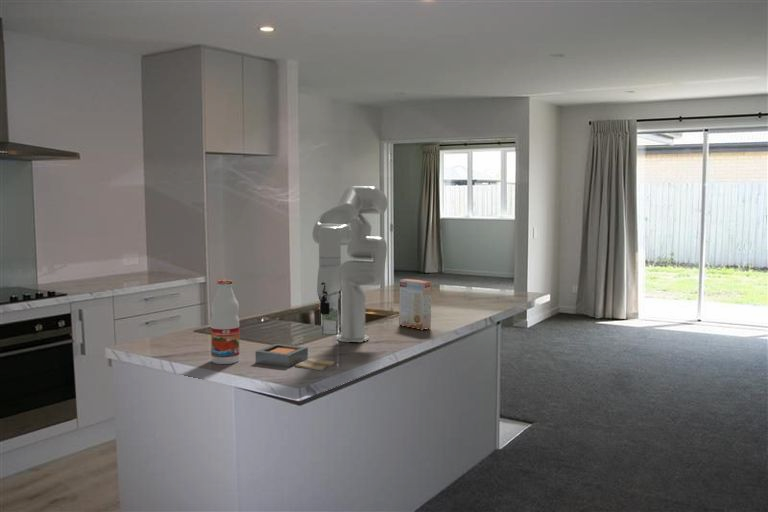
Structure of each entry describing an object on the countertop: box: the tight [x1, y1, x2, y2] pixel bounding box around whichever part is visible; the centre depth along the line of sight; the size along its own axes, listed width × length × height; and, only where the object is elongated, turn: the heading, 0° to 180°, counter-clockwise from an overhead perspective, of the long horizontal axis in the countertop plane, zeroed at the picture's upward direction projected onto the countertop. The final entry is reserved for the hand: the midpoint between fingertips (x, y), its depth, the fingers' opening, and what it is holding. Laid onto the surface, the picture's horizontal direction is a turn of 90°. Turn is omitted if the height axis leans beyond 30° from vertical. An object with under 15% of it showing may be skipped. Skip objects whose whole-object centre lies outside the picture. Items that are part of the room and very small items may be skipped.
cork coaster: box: [294, 358, 336, 371], centre depth 223 cm, size 10×10×1 cm
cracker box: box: [398, 278, 433, 329], centre depth 287 cm, size 14×6×21 cm, turn 44°
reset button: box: [269, 348, 295, 354], centre depth 227 cm, size 7×7×1 cm
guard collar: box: [255, 343, 309, 368], centre depth 227 cm, size 13×13×4 cm
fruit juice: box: [210, 279, 240, 365], centre depth 224 cm, size 9×9×28 cm
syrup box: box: [321, 292, 339, 336], centre depth 231 cm, size 6×6×14 cm
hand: (330, 311), depth 231 cm, fingers closed on syrup box, 7 cm apart
